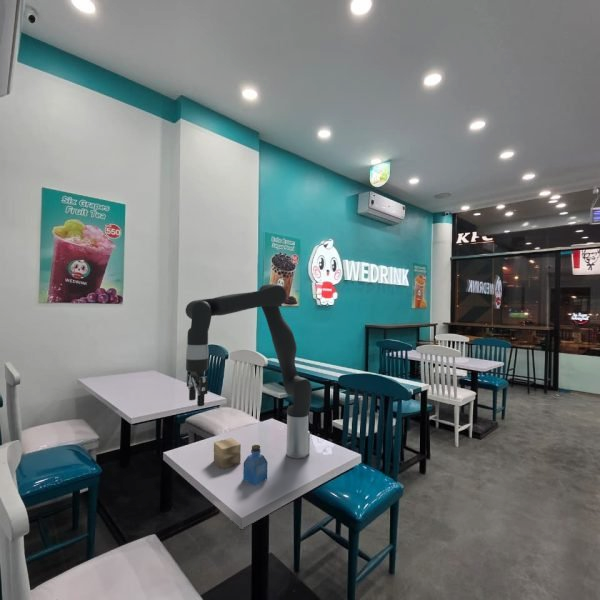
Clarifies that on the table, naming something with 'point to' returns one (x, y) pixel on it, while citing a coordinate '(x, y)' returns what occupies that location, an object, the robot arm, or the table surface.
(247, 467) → the perfume bottle
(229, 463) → the tower bottom block
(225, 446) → the tower top block
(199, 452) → the table surface
